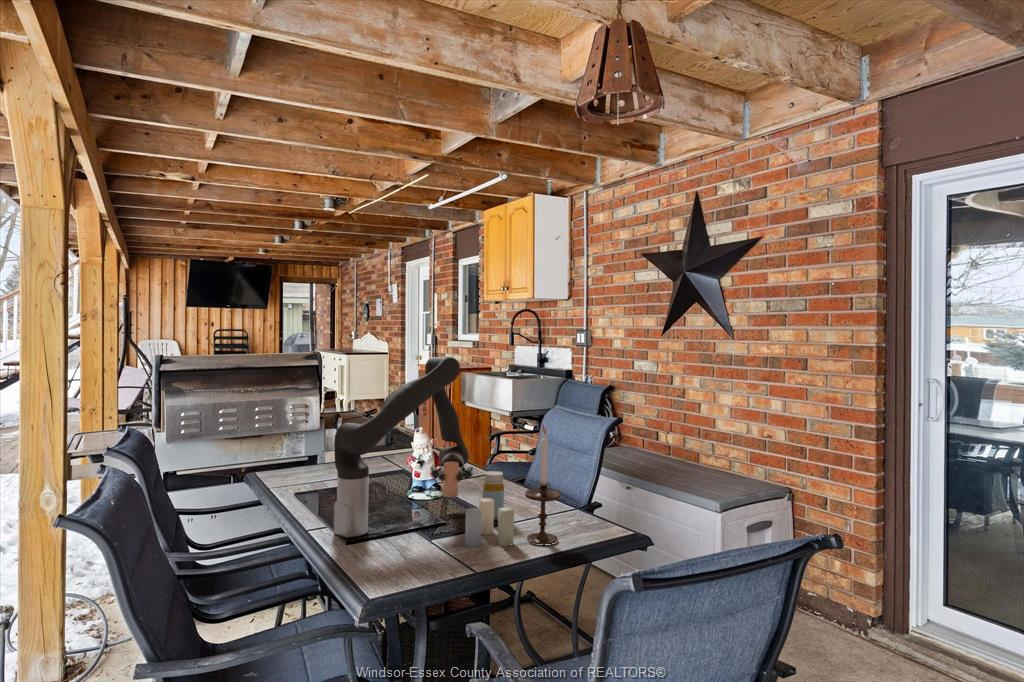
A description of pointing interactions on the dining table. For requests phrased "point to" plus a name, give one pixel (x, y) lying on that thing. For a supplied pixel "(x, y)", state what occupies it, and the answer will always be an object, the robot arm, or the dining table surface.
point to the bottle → (494, 489)
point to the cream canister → (487, 515)
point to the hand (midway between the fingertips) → (450, 477)
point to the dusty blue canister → (473, 527)
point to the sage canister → (505, 526)
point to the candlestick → (543, 498)
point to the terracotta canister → (450, 479)
